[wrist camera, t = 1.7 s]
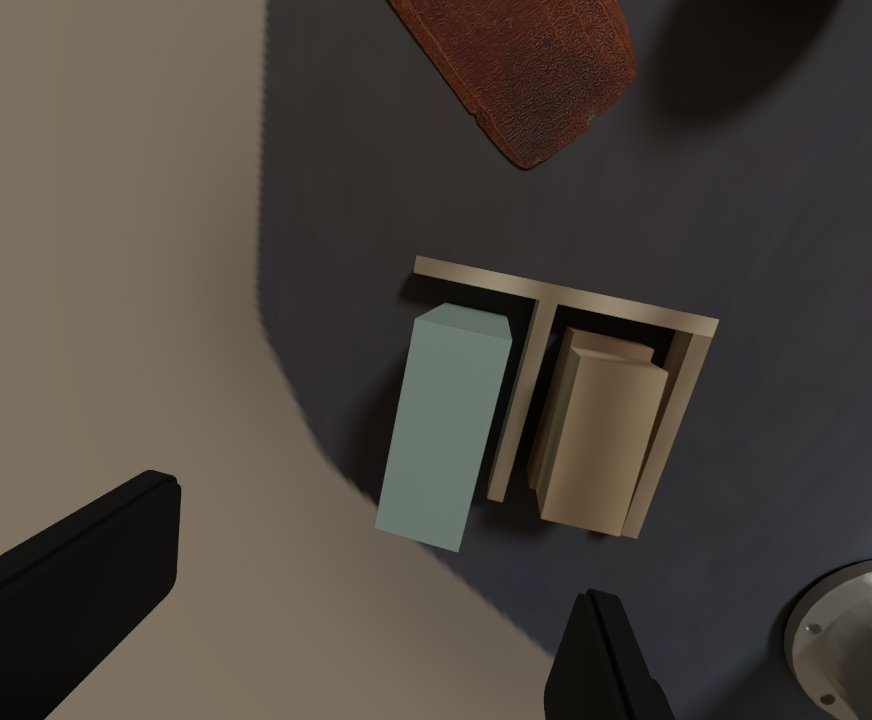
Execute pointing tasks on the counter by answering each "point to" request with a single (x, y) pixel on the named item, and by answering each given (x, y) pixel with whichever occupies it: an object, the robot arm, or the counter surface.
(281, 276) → the counter surface
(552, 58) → the wooden tablet
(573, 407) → the offcut upper
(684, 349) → the rack
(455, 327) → the tall board
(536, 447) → the offcut lower
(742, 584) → the counter surface
